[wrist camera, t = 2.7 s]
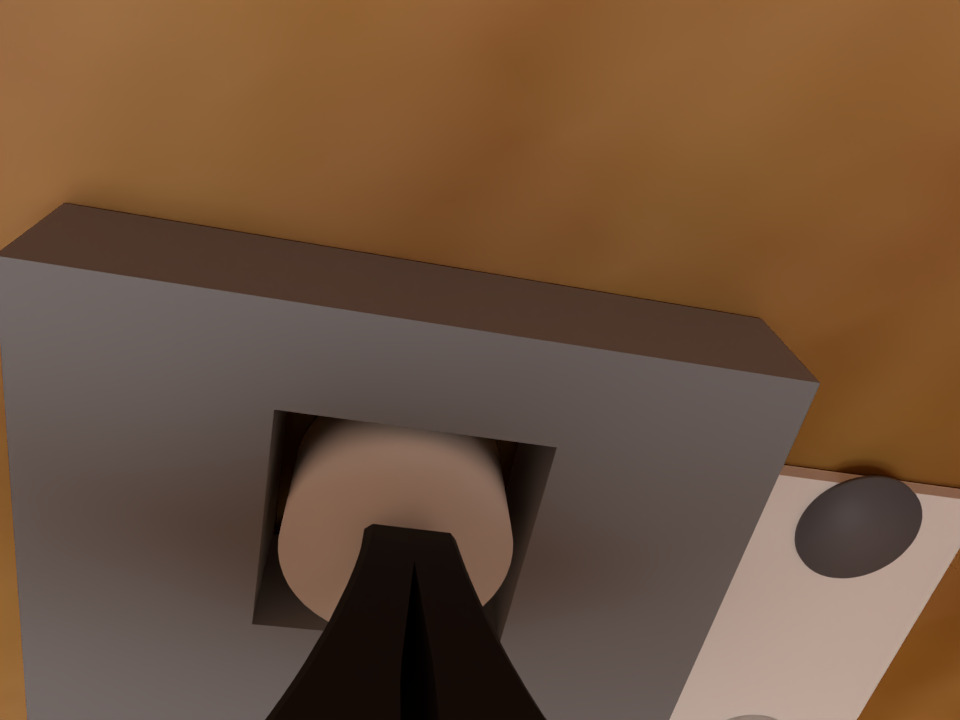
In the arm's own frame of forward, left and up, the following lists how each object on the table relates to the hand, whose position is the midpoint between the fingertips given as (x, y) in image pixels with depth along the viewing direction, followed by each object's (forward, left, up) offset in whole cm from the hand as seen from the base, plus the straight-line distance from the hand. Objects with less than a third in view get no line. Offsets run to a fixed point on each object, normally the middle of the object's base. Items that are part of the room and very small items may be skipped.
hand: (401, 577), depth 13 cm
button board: (0, +7, -3) cm, 8 cm away
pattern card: (-9, +7, -3) cm, 12 cm away
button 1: (0, 0, -3) cm, 3 cm away
